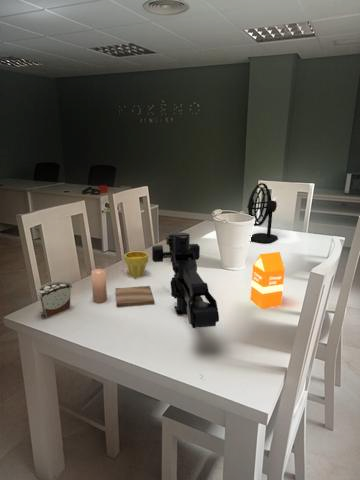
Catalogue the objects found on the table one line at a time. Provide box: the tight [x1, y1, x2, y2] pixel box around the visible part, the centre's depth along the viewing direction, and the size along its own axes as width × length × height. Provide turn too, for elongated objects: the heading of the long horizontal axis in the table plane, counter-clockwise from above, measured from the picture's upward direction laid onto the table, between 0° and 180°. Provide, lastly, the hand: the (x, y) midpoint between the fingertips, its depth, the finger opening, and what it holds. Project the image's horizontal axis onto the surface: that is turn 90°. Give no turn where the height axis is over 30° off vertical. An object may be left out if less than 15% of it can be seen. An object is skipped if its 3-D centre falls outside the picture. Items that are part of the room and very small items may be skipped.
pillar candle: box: [90, 268, 108, 304], centre depth 131 cm, size 5×5×12 cm
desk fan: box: [246, 182, 279, 244], centre depth 215 cm, size 27×18×35 cm, turn 143°
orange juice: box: [250, 251, 285, 309], centre depth 129 cm, size 8×9×20 cm
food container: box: [37, 280, 73, 320], centre depth 122 cm, size 12×6×10 cm, turn 141°
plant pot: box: [124, 250, 149, 278], centre depth 157 cm, size 10×10×10 cm
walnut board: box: [114, 285, 155, 308], centre depth 135 cm, size 14×14×2 cm
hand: (172, 246), depth 144 cm, fingers open, 9 cm apart
